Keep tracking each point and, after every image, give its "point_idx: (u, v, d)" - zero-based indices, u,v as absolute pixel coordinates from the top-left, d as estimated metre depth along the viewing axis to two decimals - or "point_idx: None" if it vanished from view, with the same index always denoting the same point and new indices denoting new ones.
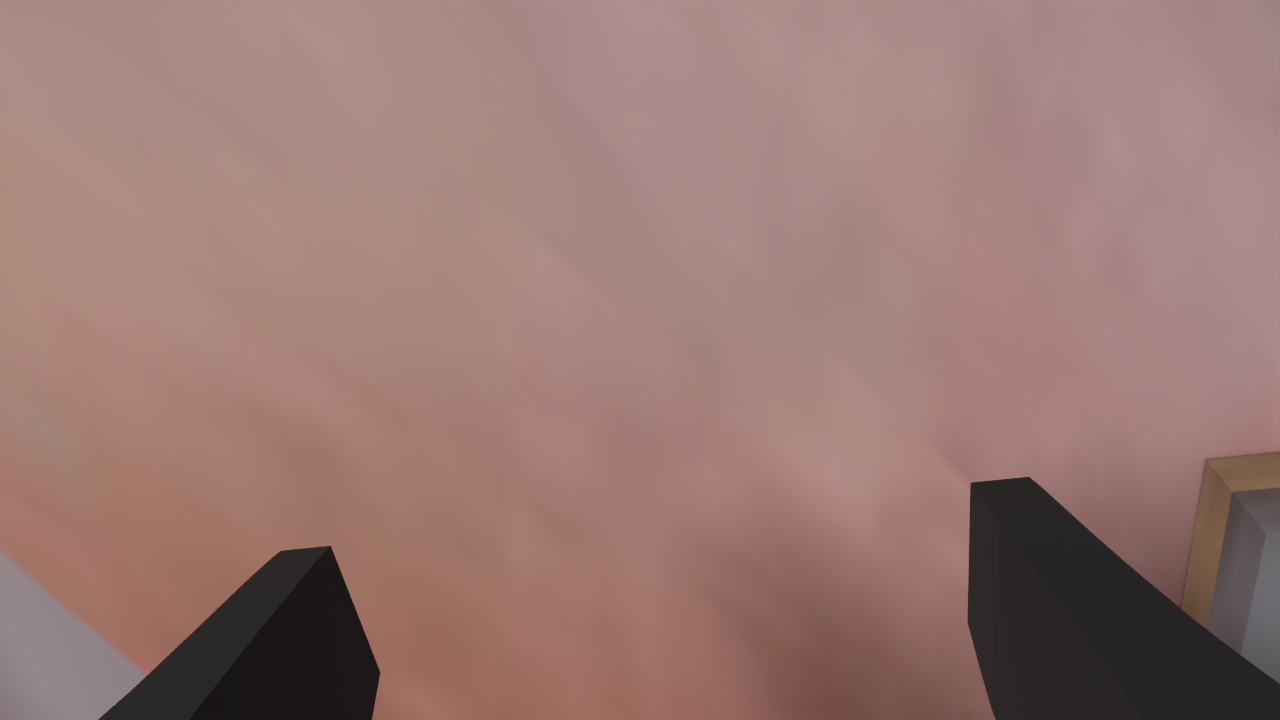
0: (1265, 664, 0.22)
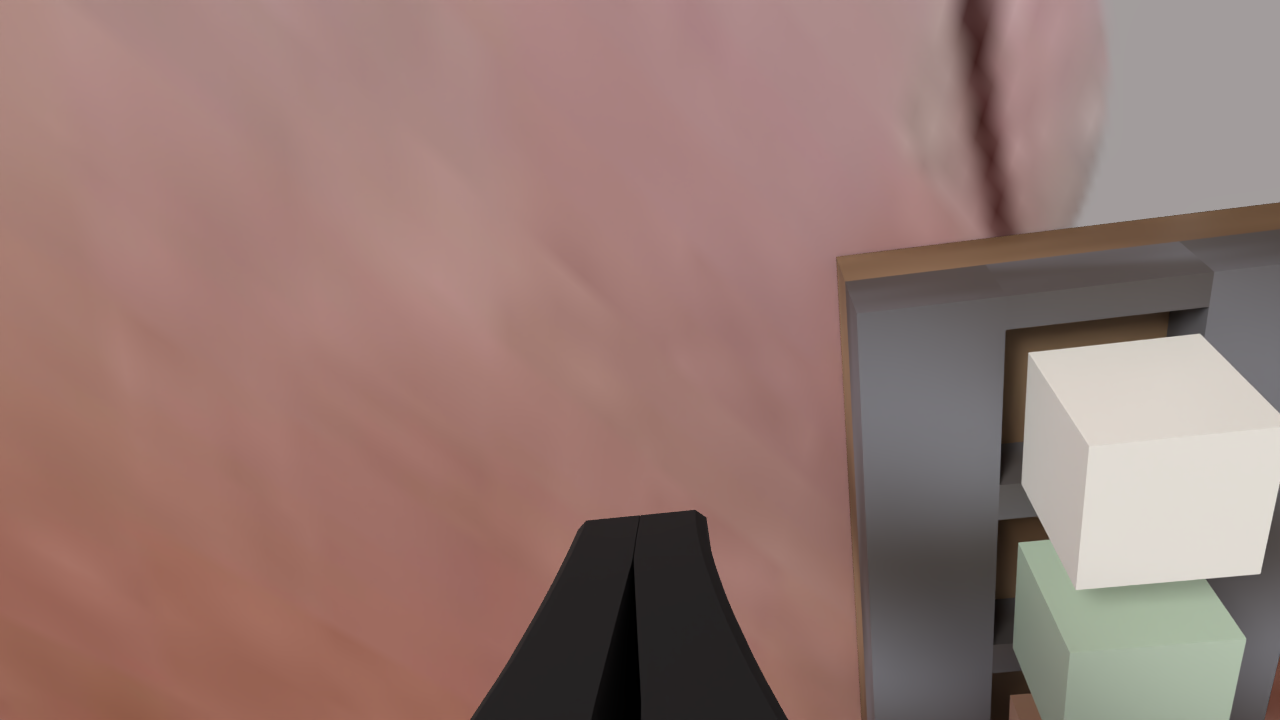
0: (893, 476, 0.20)
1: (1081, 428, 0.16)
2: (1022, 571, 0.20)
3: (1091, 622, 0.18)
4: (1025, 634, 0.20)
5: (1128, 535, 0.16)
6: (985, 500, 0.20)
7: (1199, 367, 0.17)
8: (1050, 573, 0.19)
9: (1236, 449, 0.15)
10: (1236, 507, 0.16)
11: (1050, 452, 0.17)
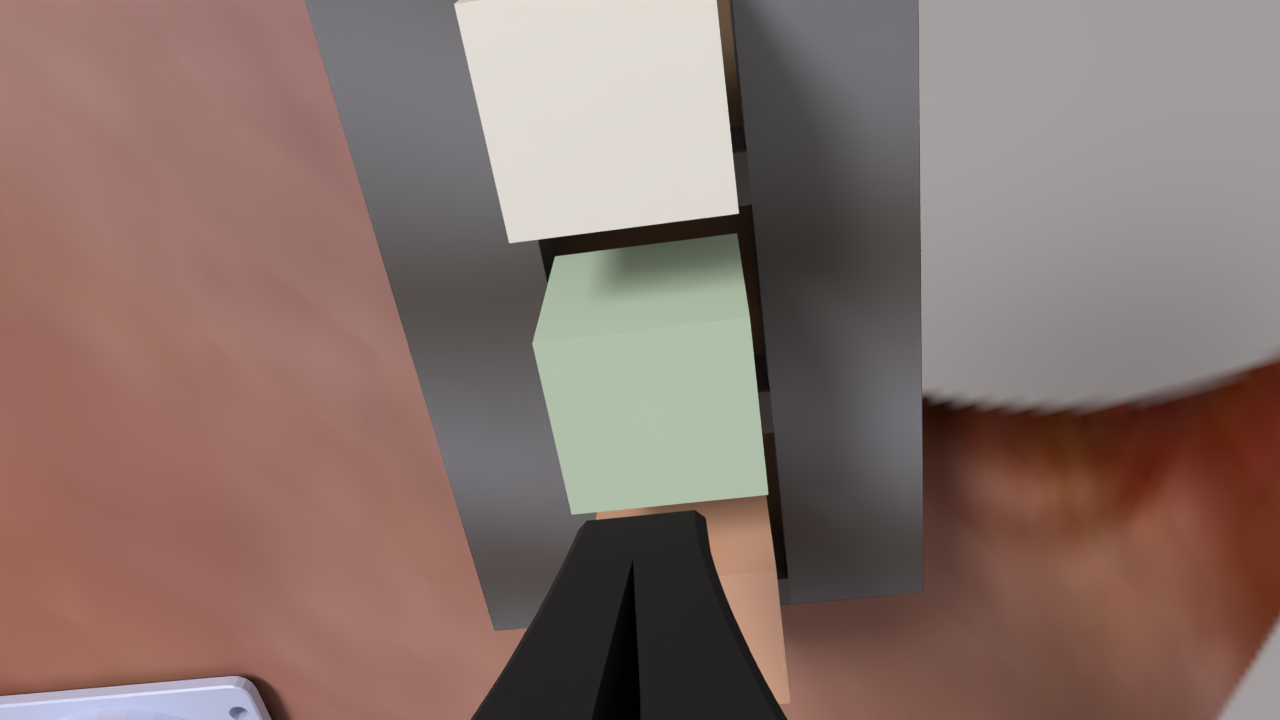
0: (392, 170, 0.16)
1: None
2: None
3: (579, 316, 0.14)
4: None
5: (550, 153, 0.12)
6: None
7: None
8: (568, 279, 0.15)
9: (650, 6, 0.11)
10: (677, 104, 0.12)
11: None
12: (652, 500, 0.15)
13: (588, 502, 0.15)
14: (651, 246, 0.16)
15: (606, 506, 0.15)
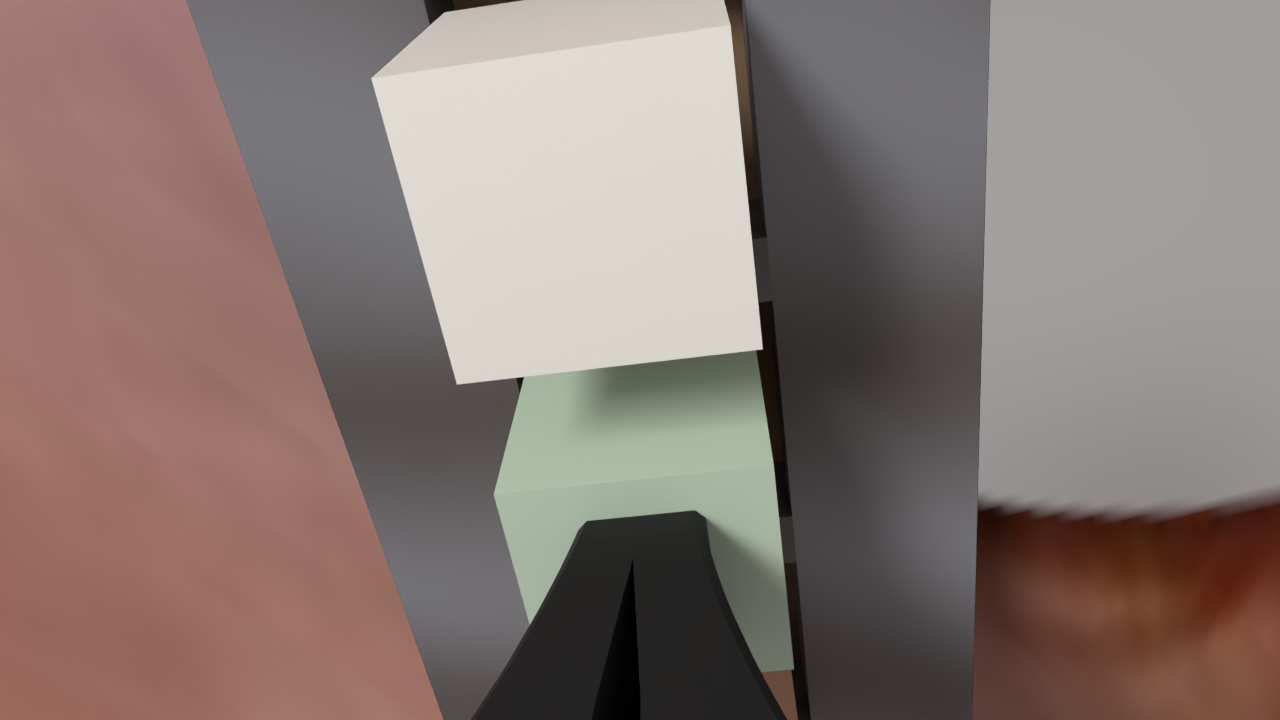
0: (323, 259, 0.13)
1: (393, 63, 0.09)
2: None
3: (555, 453, 0.11)
4: None
5: (509, 272, 0.09)
6: None
7: None
8: (544, 392, 0.12)
9: (643, 81, 0.08)
10: (681, 210, 0.09)
11: None
12: None
13: None
14: None
15: None
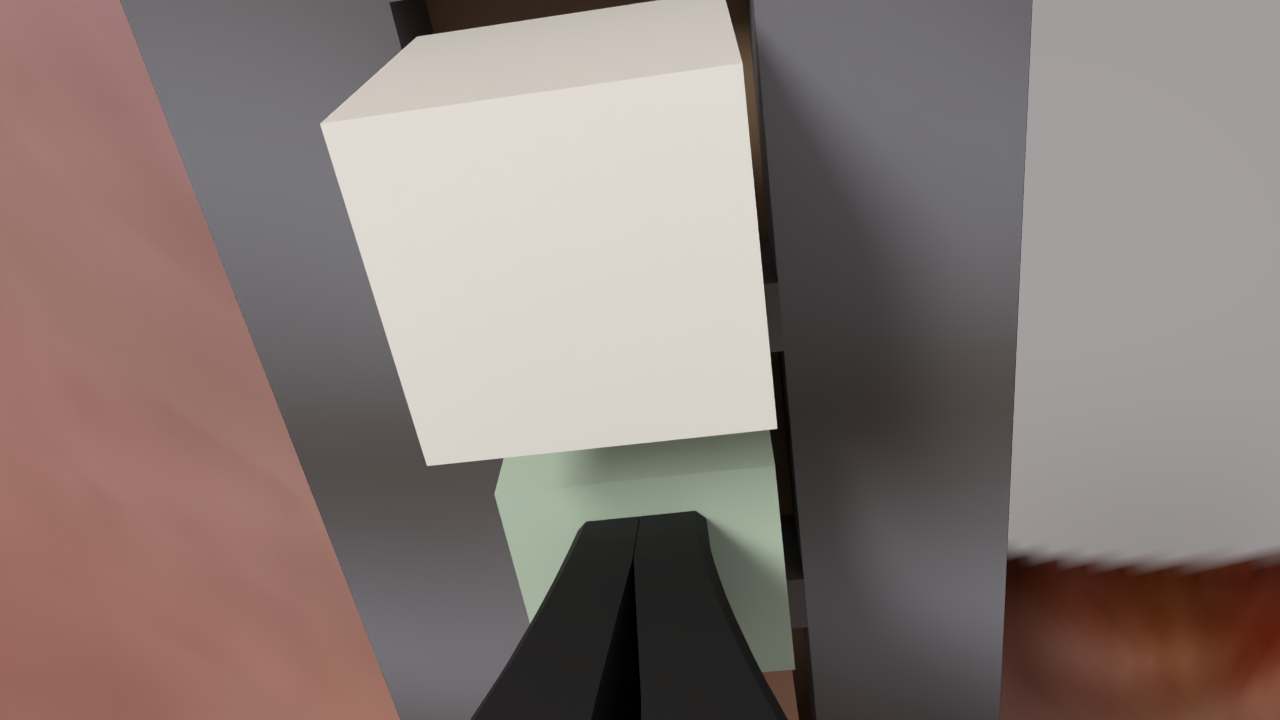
0: (288, 304, 0.11)
1: (349, 103, 0.07)
2: None
3: (556, 452, 0.11)
4: None
5: (484, 343, 0.08)
6: None
7: (669, 20, 0.08)
8: None
9: (639, 127, 0.07)
10: (683, 274, 0.07)
11: None
12: None
13: None
14: None
15: None
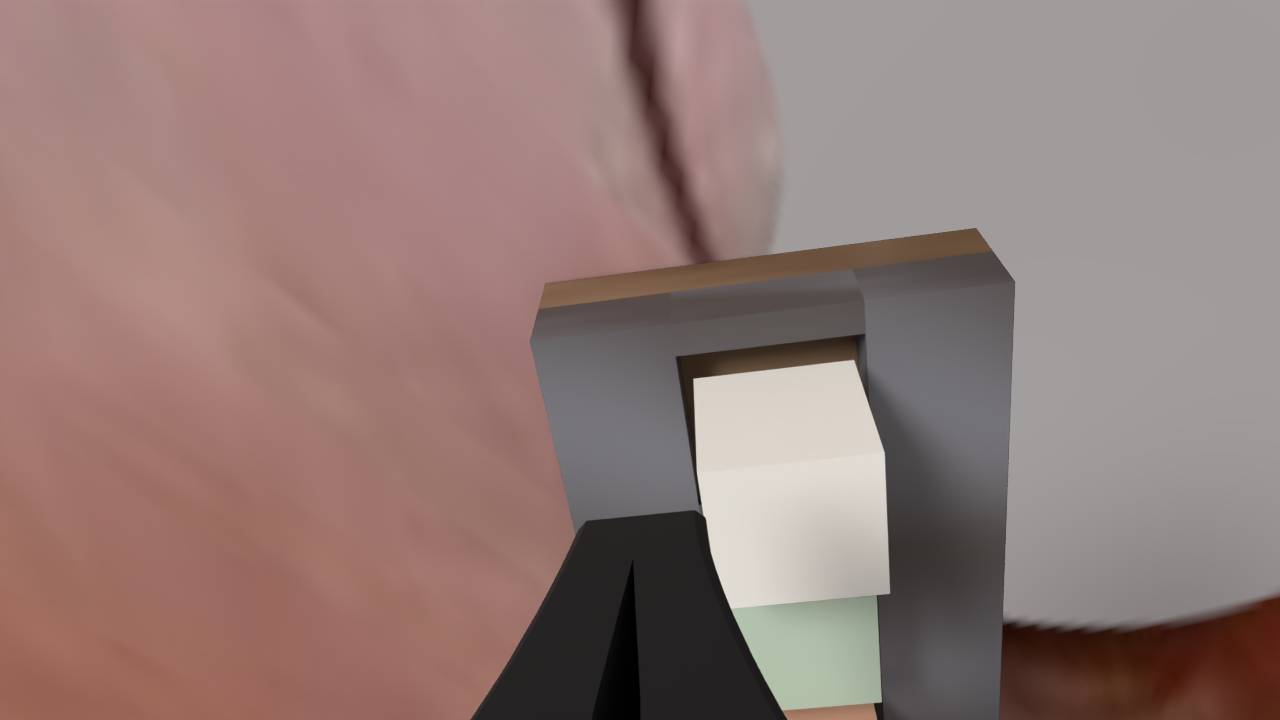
0: (594, 498, 0.20)
1: (700, 455, 0.16)
2: None
3: None
4: None
5: (755, 557, 0.17)
6: None
7: (835, 394, 0.17)
8: None
9: (837, 475, 0.16)
10: (851, 530, 0.16)
11: None
12: (798, 705, 0.21)
13: None
14: None
15: None
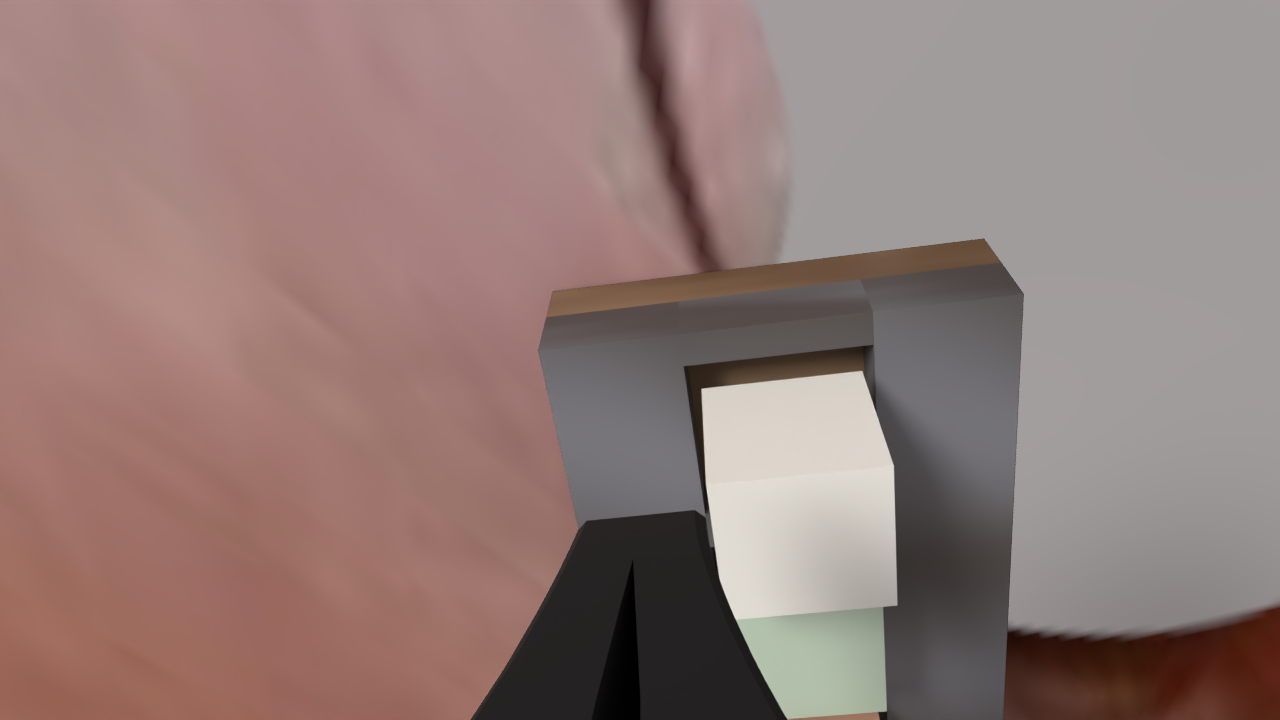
0: (601, 506, 0.20)
1: (709, 466, 0.16)
2: None
3: None
4: None
5: (763, 568, 0.17)
6: None
7: (843, 405, 0.17)
8: None
9: (846, 488, 0.16)
10: (859, 542, 0.16)
11: None
12: (803, 714, 0.21)
13: None
14: None
15: None
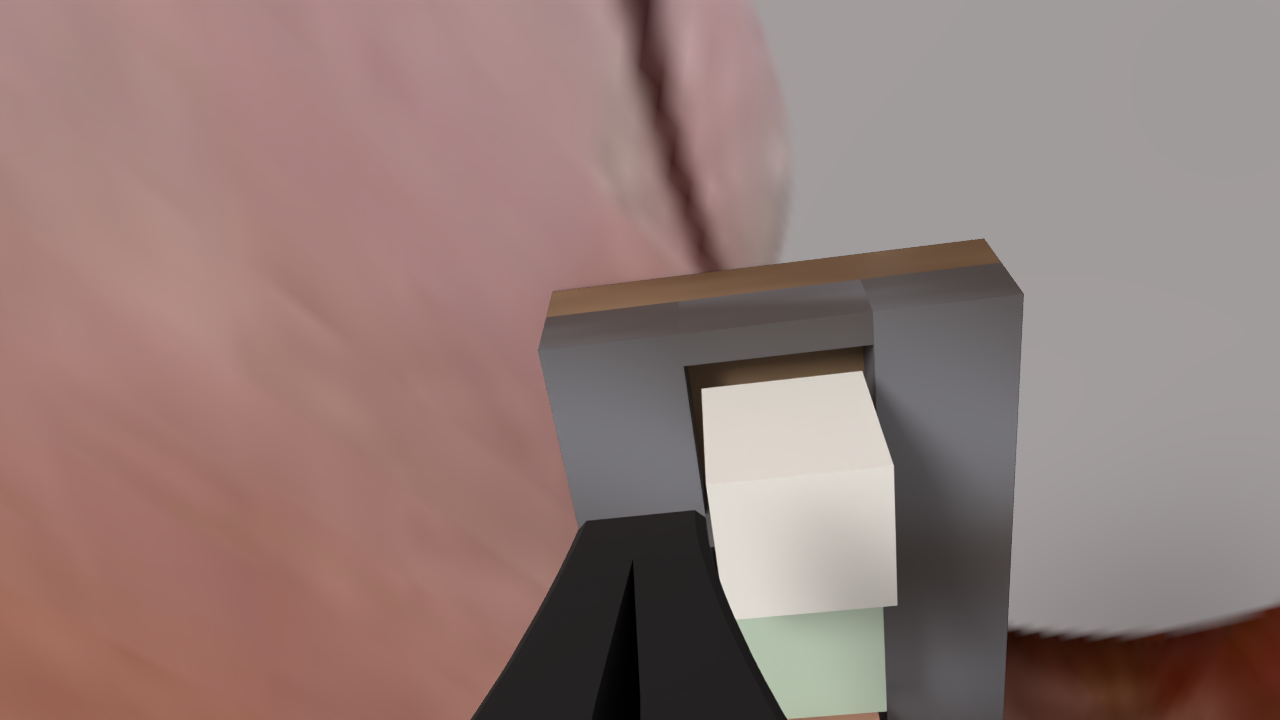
0: (601, 506, 0.20)
1: (709, 466, 0.16)
2: None
3: None
4: None
5: (763, 568, 0.17)
6: None
7: (843, 405, 0.17)
8: None
9: (846, 488, 0.16)
10: (859, 542, 0.16)
11: None
12: (803, 714, 0.21)
13: None
14: None
15: None
